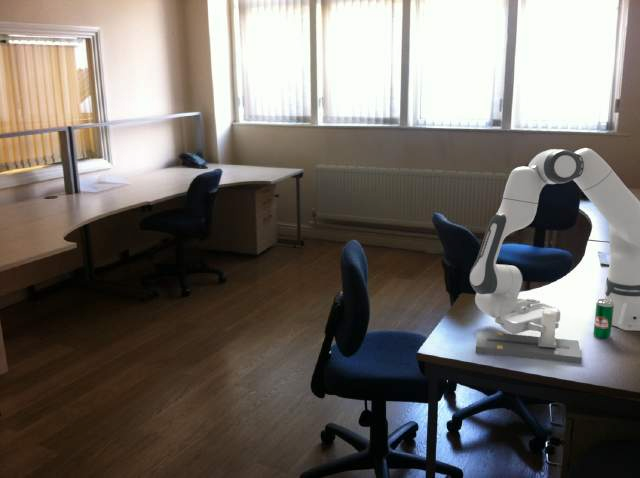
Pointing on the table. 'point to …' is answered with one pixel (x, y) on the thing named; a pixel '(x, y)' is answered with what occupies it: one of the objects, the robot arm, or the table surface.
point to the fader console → (527, 347)
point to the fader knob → (548, 329)
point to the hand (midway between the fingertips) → (550, 328)
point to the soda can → (603, 318)
